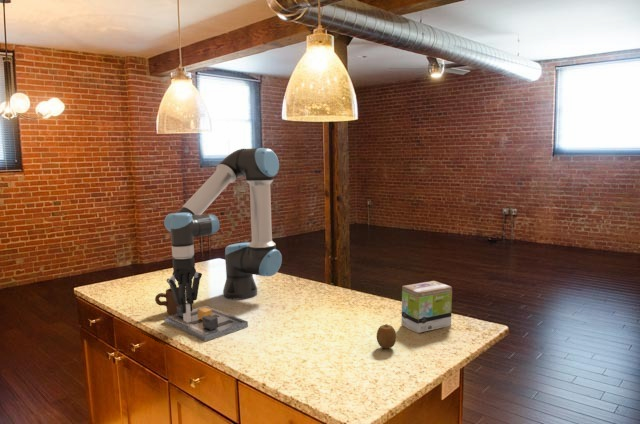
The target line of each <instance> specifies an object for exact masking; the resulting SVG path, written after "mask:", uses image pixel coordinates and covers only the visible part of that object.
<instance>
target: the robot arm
mask: <svg viewBox="0 0 640 424" xmlns="http://www.w3.org/2000/svg"><path fill="white" fill-rule="evenodd" d="M215 169H216V170H215V171H214V172H213V173H212V174H211V175H210V177H209V178H208V179H207V180H206V181H205V182H204V183H203V184H202V185H201V186H200V187H199V188H198V189H197V190H196V191H195V193H194V194H193V195H192V196H191V197H190V198H188V200H186V202H185V203H184V205H183V206H182V207H181V208H179V209H178V211H176V212H172V213H168V214H167V215H166V216H165V218H164V219H163V220H164V221H163V222H164V223H163V224H164V227H165V230H167V231H168V232H170V240H171V241H170V243H171V256H172V261H171V262H172V268H173V272H172V276H171V277H170V278H166V282H167V283H168V285H169V289H170V288H171V291H172V294H173V297H174V301H175V303H177V304H179V305H181V313H183V320H184V321H185V322H187V323H188V322H191V311H192V309H193V304H194V302H195V301H197V300H198V294H199V287H200V280H201V278H202V276H203V274H202V273H201V272H198V271H197V269H196V268H195V266H196V261H195V246H194V245H195V242H194V239H195V238H201V237H205V236H211V235H214V234H216V233H217V232H218V231H219V229H220V226H221V225H220V220H219V218H218V217H217V215H215V214H213V213H211V214H208V213H207V214H204V215H203V213H204V212H205V211H206V210H207V209H208V208H209V206H211V204H212V203H213V202H214V201H215V200H216V199H217V198H218V197H219V196H220V194H221V193H222V192H223V191H224V190H225V189H226V188H227V187H228V186H229V185H230V184H231V183H234V182H235V181H236V180H237V179H238V178H241V177H245V182H246V183H247V184H249V198H250V200H249V202H250V203H249V204H250V226H251V227H250V229H251V241H250V242H238V243H233V244H228V245H227V246H226V247H225V250H224V251H225V252H224V257H225V258H224V261H225V273H226V274H225V275H226V279H225V284H224V285H223V291H222V295H223V297H224V298H226V299H228V300H229V299H231V300H244V299H250V298H252V297H255V296H257V294H258V287H257V284H256V282H255V279H254V275H256V276H261V277H272V276H274V275H276V274H277V273H278V272H279V269H280V268H281V266H282V261H283V256H282V254H281V252H280V250H278V249H277V246H276V245H277V244H276V242H274V241H273V233H272V232H273V231H272V204H271V202H272V201H271V200H272V198H271V196H272V195H271V193H272V192H271V184H272V183H273V182H274V180H275V178H274V177H275V176H276V175H277V174H278V173H279V172H278V171H279V170H280V162H279V158H278V155H277V154H276V153H275V152H274V150H272V149H271V148H267V147H260V148H259V147H258V148H257V147H255V148H240V149H237V150H234V151H233V152H231V153H230V154H229V155H227V156H226V157H225V158H223V160H222V161H220V163H218V164H217V165H216V167H215ZM176 281H177V284H176ZM177 287H179V293H178V289H177Z"/></svg>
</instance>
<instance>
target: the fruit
mask: <svg viewBox="0 0 640 424" xmlns="http://www.w3.org/2000/svg"><path fill="white" fill-rule="evenodd" d="M376 342H377V343H378V346H380V348H382V349H384V350H388V349H391V348H393V347H394V346H395V344H396V343H397V333H396V330H395V328H394V327H393V326H392V325H391V324H387V323H386V324H382V325H380V326H379V327H378V329H377V332H376Z"/></svg>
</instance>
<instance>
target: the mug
mask: <svg viewBox="0 0 640 424" xmlns="http://www.w3.org/2000/svg"><path fill="white" fill-rule="evenodd" d="M177 289H178V293H179V286H177ZM160 298H165V300H161V299H160ZM154 300H155V303H156V305H158V306H163V307H166V313H167V314H168V316H170V315H174V314H177V306H180V305H179V304H177V303H175V301H174V297H173V294H172V291H171V288H170V287H169V288H167V289H166V290H165V293H164V292H160V293H157V294H156V295H155V298H154Z"/></svg>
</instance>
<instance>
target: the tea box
mask: <svg viewBox="0 0 640 424" xmlns="http://www.w3.org/2000/svg"><path fill="white" fill-rule="evenodd" d="M401 287H402V288H401V289H402V290H401V320H400V321H401V325H402V326H403V327H405V328H407V329H409V330H411V331H413V332H414V333H417V334H421V333H423V332H424V333H425V332H427V331H428V332H429V331H431V330H437V329H442V328H447V327H448V328H449V327H451V326H452V314H453V313H452V308H453V307H452V304H453V303H452V302H453V301H452V300H453V287H452V286H451V285H448V284H445V283H442V282H439V281H436V280H430V281H424V282H419V283H413V284H407V285H402V286H401Z"/></svg>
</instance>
